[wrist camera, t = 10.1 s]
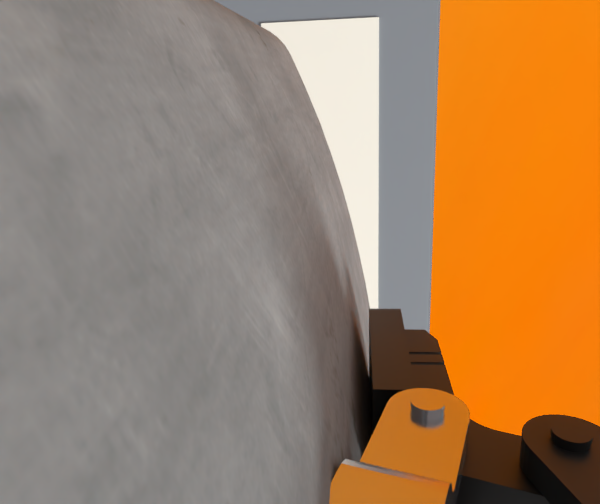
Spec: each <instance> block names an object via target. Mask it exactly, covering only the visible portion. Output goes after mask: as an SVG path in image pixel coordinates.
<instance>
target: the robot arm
mask: <svg viewBox="0 0 600 504" xmlns="http://www.w3.org/2000/svg"><path fill="white" fill-rule="evenodd" d="M369 389H370V417H371V438H370V440H369V442H368V445H367V447H366V449H365V451H364V453H363V455H362V457H361V459H360V461H356V460H352V459H345V460H344V461H343V462H342V463H341V465H340V466H339V468H338V470H337V472H336V474H335V476H334V478H333V480H332V482H331V486H330V501H329V504H600V427H599V426H597V425H595V424H593V423H591V422H588V421H586V420H583V419H579V418H576V417H571V416H566V415H542V416H538V417H535V418H532V419H531V420H529V421H527V422H526V424H525V425H524V426H523V429H522V436H519V435H514V434H510V433H505V432H501V431H497V430H493V429H490V428H487V427H484V426H482V425H480V424H478V423H476V422H474V421H472V420H471V419H470V412H469V409H468V407H467V406H466V404H465V403H464V402H463V401H462V400H460V399H459V398H457V397H456V396H454V394H453V390H452V387H451V384H450V380H449V377H448V374H447V370H446V367H445V365H444V360H443V357H442V355H441V351H440V347H439V344H438V341H437V339H435V338H434V337H433V336H432V335H431V334H429V333H428V332H427V331H426V330H414V329H404V324H403V318H402V313H401V309H369Z"/></svg>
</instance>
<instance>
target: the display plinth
mask: <svg viewBox="0 0 600 504" xmlns="http://www.w3.org/2000/svg"><path fill="white" fill-rule="evenodd" d="M214 1H216V2H217V3H219V4H221V5H223V6H225V7H226V8H228V9H230V10H232V11H234V12H235V13H237V14H239V15H241V16H243V17H245V18H246V19H248V20H250V21H252V22H254V23H255V24H257V25H259V26H261V27H263V28H264V29H266V30H268V31H270V32H271V33H272V34H274V35H275V36H277V37H278V38H279V39H280V40H281V41H282V43H283V44H284V45H285V46H286V48H287V49H288V51H289V53H290V54H291V57H292V59H293V61H294V63H295V65H296V68H297V70H298V72H299V74H300V76H301V79H302V81H303V83H304V85H305V88H306V90H307V92H308V95H309V97H310V100H311V102H312V104H313V107H314V109H315V112H316V114H317V117H318V119H319V122H320V124H321V127H322V130H323V132H324V135H325V138H326V141H327V144H328V146H329V149H330V152H331V155H332V158H333V161H334V164H335V167H336V170H337V173H338V176H339V180H340V183H341V186H342V189H343V192H344V196H345V200H346V203H347V207H348V211H349V214H350V218H351V221H352V226H353V230H354V234H355V238H356V242H357V247H358V251H359V255H360V260H361V265H362V269H363V274H364V279H365V283H366V289H367V294H368V300H369V306H370V309H401V313H402V318H403V324H404V329H414V330H426V331H427V332H428V333H429V329H430V299H431V268H432V238H433V207H434V176H435V146H436V115H437V85H438V54H439V23H440V0H214Z"/></svg>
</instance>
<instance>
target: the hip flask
mask: <svg viewBox="0 0 600 504" xmlns="http://www.w3.org/2000/svg"><path fill="white" fill-rule="evenodd" d="M369 309H370V306H369V300H368V294H367V289H366V283H365V279H364V274H363V269H362V265H361V260H360V255H359V251H358V247H357V242H356V238H355V234H354V230H353V226H352V221H351V218H350V214H349V211H348V207H347V203H346V200H345V196H344V192H343V189H342V186H341V183H340V180H339V176H338V173H337V170H336V167H335V164H334V161H333V158H332V155H331V152H330V149H329V146H328V144H327V141H326V138H325V135H324V132H323V130H322V127H321V124H320V122H319V119H318V117H317V114H316V112H315V109H314V107H313V104H312V102H311V100H310V97H309V95H308V92H307V90H306V88H305V85H304V83H303V81H302V79H301V76H300V74H299V72H298V70H297V68H296V65H295V63H294V61H293V59H292V57H291V54H290V53H289V51H288V49H287V48H286V46H285V45H284V44H283V43H282V41H281V40H280V39H279V38H278V37H277V36H275V35H274V34H272V33H271V32H270V31H268V30H266V29H264V28H263V27H261V26H259V25H257V24H255V23H254V22H252V21H250V20H248V19H246V18H245V17H243V16H241V15H239V14H237V13H235V12H234V11H232V10H230V9H228V8H226V7H225V6H223V5H221V4H219V3H217V2H216V1H214V0H0V504H329V501H330V486H331V482H332V480H333V478H334V476H335V474H336V472H337V470H338V468H339V466H340V465H341V463H342V462H343V461H344V460H345V459H352V460H356V461H360V459H361V457H362V455H363V453H364V451H365V449H366V447H367V445H368V442H369V440H370V438H371V417H370V389H369Z"/></svg>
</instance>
